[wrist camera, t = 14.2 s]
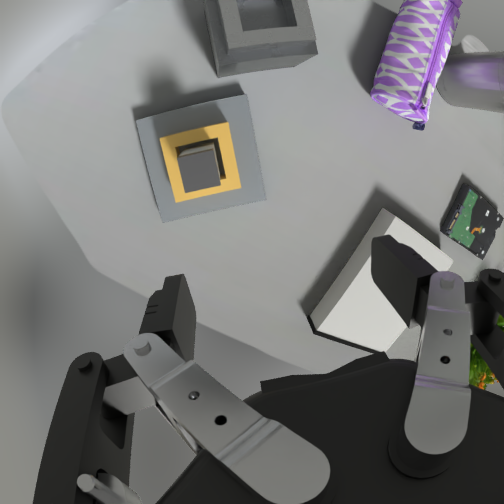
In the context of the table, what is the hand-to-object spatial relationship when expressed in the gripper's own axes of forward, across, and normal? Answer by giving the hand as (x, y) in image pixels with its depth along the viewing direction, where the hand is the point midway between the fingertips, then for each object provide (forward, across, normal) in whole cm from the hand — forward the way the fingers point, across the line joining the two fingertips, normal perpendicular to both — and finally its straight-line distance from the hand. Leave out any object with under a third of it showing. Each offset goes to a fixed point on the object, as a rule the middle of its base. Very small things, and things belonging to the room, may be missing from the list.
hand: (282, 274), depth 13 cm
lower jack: (+30, +5, -1) cm, 30 cm away
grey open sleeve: (+30, -4, -16) cm, 35 cm away
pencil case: (+31, -27, -14) cm, 43 cm away
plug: (+28, +4, -1) cm, 28 cm away
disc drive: (+31, -20, +25) cm, 45 cm away
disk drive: (+32, -42, +17) cm, 55 cm away
